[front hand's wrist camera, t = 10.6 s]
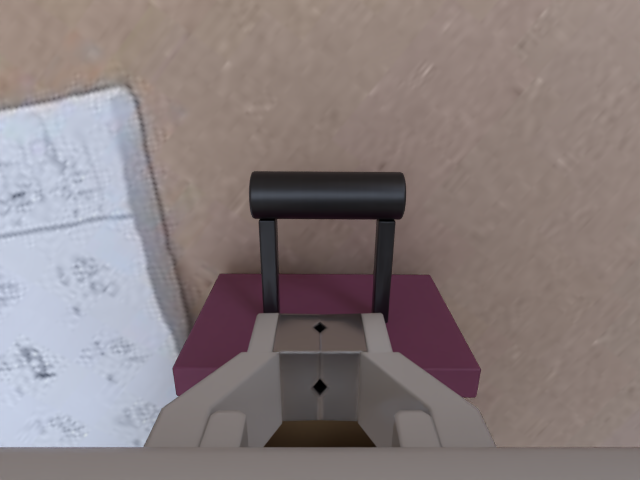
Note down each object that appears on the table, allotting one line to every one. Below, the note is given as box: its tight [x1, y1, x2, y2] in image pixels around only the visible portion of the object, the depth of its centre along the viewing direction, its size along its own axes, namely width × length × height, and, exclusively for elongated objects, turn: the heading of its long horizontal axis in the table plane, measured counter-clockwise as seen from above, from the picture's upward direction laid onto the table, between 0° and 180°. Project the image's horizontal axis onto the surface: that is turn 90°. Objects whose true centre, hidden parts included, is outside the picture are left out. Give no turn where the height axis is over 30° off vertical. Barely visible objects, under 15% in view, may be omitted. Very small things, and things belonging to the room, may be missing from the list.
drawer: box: [173, 171, 481, 447], centre depth 20 cm, size 25×10×7 cm, turn 0°
